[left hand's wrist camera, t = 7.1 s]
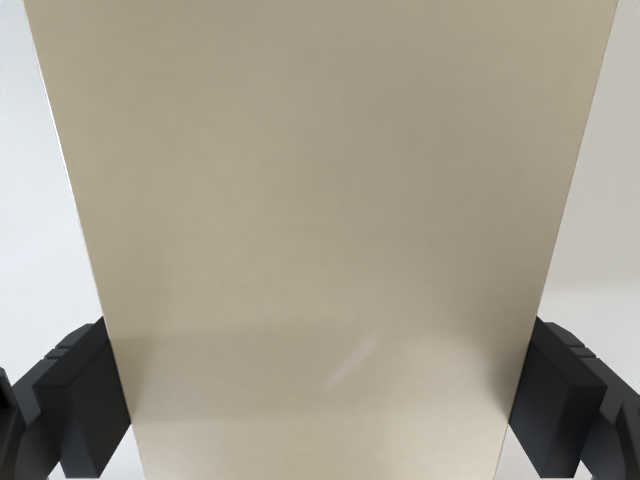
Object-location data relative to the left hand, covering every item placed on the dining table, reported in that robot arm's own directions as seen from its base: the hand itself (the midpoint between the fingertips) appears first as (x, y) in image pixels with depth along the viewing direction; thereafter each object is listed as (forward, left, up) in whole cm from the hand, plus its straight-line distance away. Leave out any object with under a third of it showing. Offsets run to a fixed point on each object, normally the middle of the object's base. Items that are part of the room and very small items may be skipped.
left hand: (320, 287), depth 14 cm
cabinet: (+6, -1, -6) cm, 8 cm away
